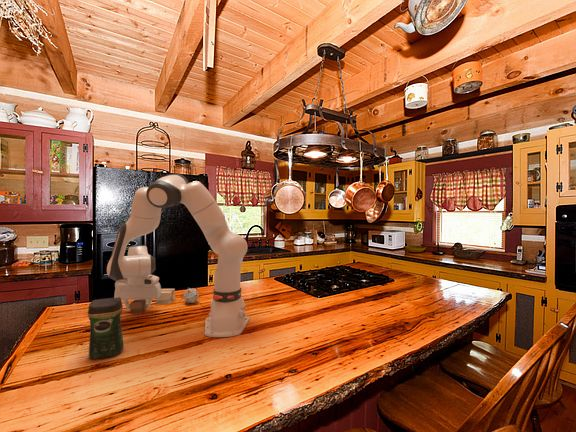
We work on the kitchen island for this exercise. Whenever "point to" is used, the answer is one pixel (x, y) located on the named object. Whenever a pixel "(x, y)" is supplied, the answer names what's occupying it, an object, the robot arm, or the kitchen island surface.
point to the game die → (191, 295)
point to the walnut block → (137, 306)
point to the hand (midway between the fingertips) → (138, 308)
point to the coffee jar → (105, 328)
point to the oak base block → (166, 296)
